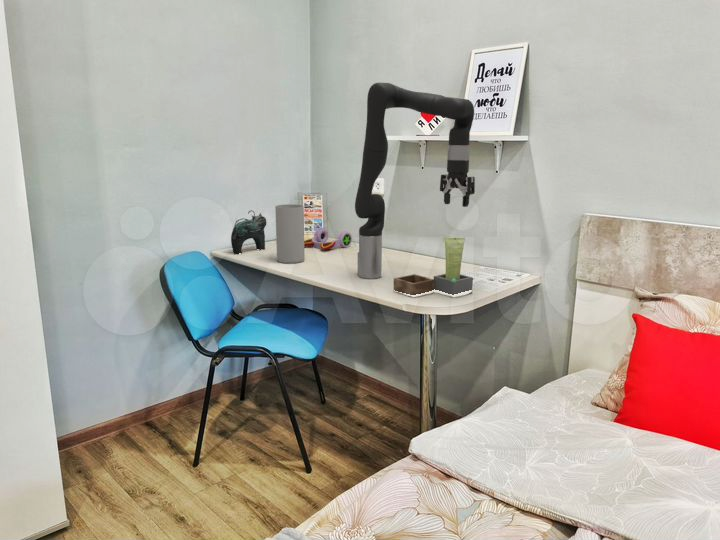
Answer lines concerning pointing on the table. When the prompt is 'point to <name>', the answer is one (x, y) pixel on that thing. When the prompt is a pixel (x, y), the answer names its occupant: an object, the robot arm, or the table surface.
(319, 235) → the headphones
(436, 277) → the socket block
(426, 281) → the brown wooden square frame
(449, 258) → the tube
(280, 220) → the cylinder vase
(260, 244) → the ceramic cat
